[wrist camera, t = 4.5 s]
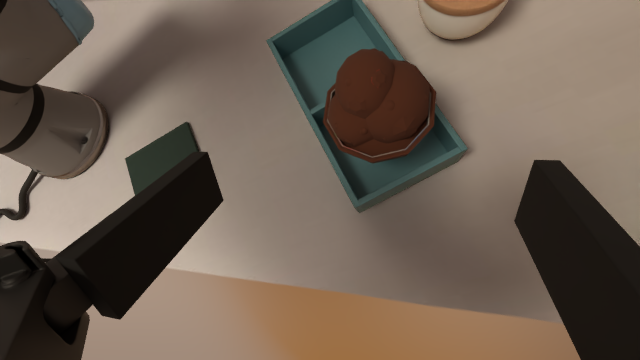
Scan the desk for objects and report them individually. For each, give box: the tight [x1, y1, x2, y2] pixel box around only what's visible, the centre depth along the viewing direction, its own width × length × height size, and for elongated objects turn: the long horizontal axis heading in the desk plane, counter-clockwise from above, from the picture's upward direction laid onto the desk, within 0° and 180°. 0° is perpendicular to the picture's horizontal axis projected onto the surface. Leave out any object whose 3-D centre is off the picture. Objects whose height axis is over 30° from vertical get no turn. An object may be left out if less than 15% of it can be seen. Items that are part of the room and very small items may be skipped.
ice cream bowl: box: [323, 48, 436, 163], centre depth 30 cm, size 11×11×15 cm
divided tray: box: [266, 0, 468, 213], centre depth 38 cm, size 14×26×5 cm, turn 26°
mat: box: [125, 122, 199, 196], centre depth 45 cm, size 12×12×1 cm
